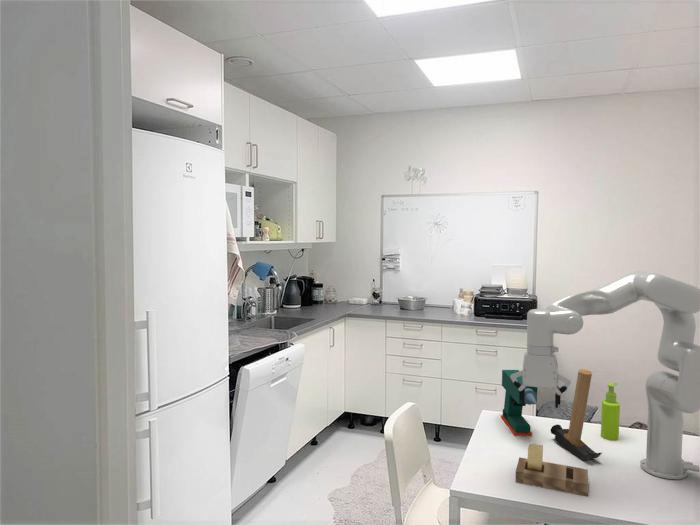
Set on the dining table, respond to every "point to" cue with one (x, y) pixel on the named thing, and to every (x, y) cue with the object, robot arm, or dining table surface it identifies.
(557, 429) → the hammer
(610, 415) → the soap dispenser
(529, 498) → the dining table surface
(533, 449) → the square bit
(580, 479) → the block
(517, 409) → the power tool
